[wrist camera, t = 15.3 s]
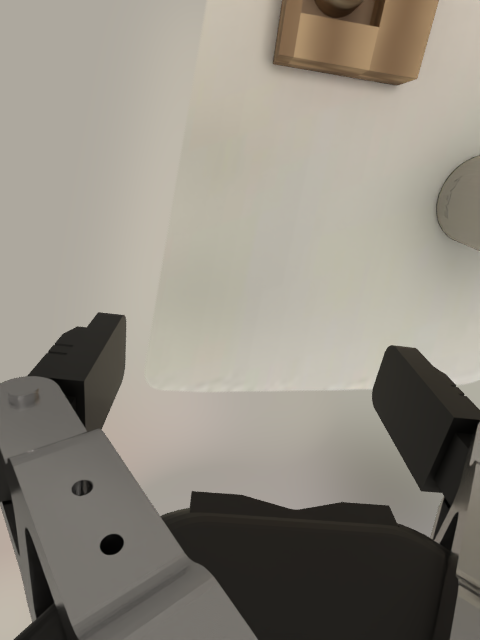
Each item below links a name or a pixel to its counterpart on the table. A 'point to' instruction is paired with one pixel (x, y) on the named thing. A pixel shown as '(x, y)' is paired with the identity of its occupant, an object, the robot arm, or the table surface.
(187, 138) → the table surface
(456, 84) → the table surface
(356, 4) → the birch post
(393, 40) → the wooden holder tray
